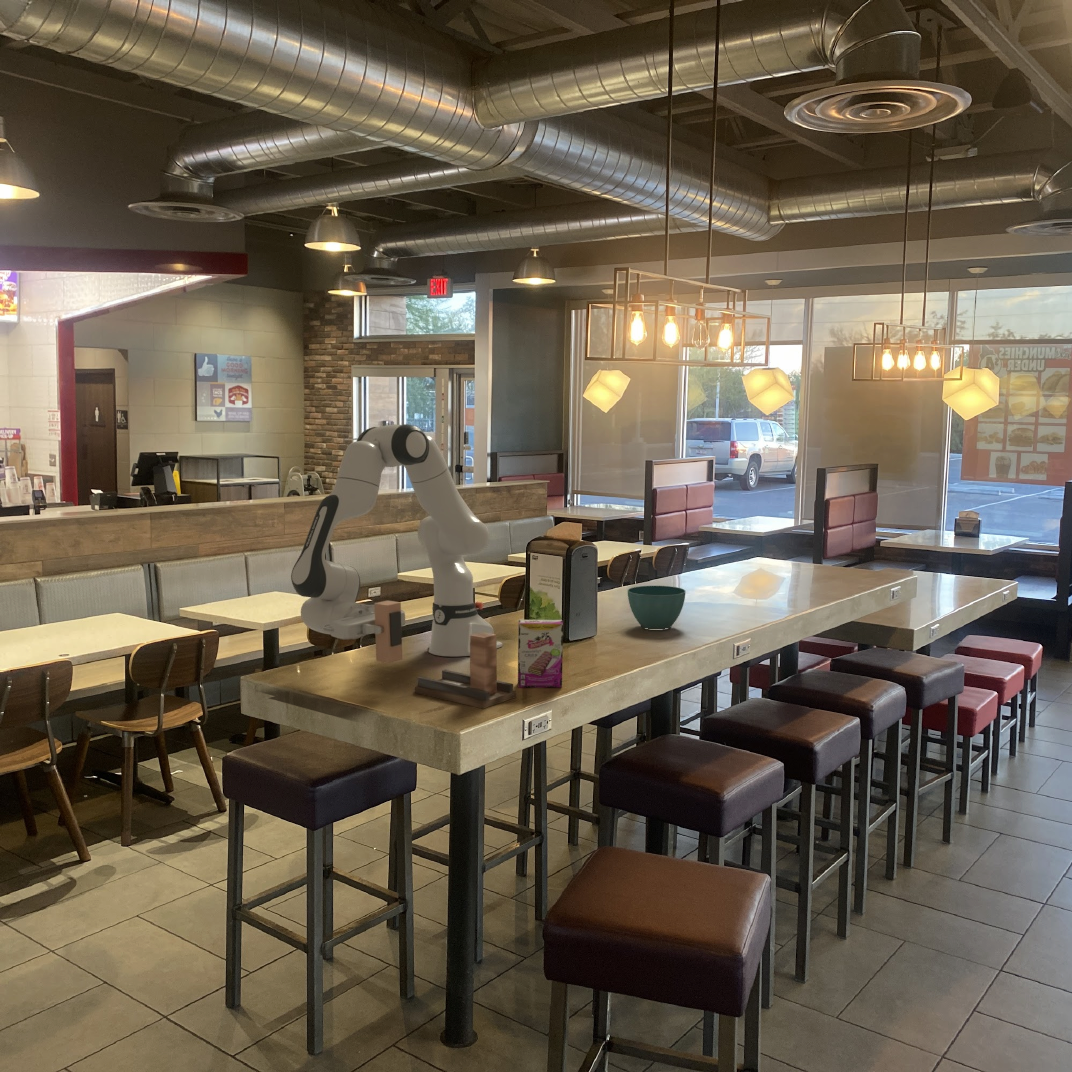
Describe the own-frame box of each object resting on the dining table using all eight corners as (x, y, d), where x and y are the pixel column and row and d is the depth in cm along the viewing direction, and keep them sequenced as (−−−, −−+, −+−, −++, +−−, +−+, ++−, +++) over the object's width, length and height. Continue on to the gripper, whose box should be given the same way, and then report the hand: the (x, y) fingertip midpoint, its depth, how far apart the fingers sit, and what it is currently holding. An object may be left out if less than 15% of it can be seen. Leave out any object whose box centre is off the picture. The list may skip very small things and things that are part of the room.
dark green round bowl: (666, 636, 310) (667, 597, 309) (616, 629, 321) (616, 590, 320) (695, 627, 325) (695, 589, 323) (645, 620, 336) (646, 583, 334)
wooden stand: (448, 682, 256) (447, 622, 254) (516, 697, 243) (515, 633, 241) (414, 692, 247) (413, 629, 245) (483, 708, 233) (482, 642, 231)
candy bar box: (517, 688, 251) (517, 623, 249) (517, 683, 256) (517, 619, 254) (563, 688, 251) (563, 622, 249) (562, 683, 256) (562, 618, 254)
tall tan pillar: (389, 656, 248) (387, 600, 246) (404, 659, 245) (402, 602, 243) (376, 660, 244) (374, 603, 242) (390, 663, 241) (389, 605, 239)
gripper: (318, 615, 243) (357, 622, 235) (381, 601, 259) (420, 607, 251) (319, 641, 244) (358, 649, 235) (382, 625, 260) (420, 632, 251)
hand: (390, 627), depth 243 cm, fingers closed on tall tan pillar, 4 cm apart
